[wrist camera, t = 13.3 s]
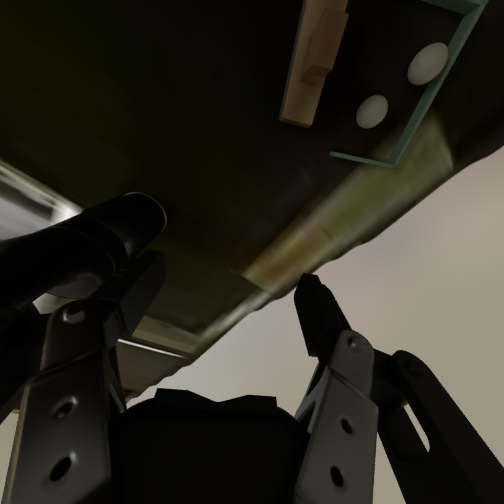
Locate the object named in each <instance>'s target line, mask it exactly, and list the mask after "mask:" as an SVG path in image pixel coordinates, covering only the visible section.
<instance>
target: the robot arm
mask: <svg viewBox="0 0 504 504" xmlns="http://www.w3.org/2000/svg"><path fill="white" fill-rule="evenodd" d="M166 225H167V214H166V211H165V209H164V207H163V206H162V204H161V203H160V202H159V201H158V200H157V199H155V198H154V197H153V196H151V195H149V194H147V193H144V192H131V193H128V194H126V195H124V196H118V197H116V198H113V199H111V200H108V201H106V202H103V203H101V204H98V205H96V206H93V207H91V208H88V209H86V210H83V211H82V212H81V214H79V215H76V216H74V217H71V218H69V219H67V220H64V221H62V222H60V223H57V224H55V225H52V226H50V227H48V228H45V229H42V230H40V231H37V232H35V233H32V234H28V235H24V236H20V237H16V238H12V239H8V240H4V241H0V425H1V423H2V422H3V421H4V420H5V418H6V417H7V416H8V415H9V414H10V413H11V411H12V410H13V409H14V408H15V407H16V405H17V404H18V403H19V402H20V401H21V399H22V402H21V407H20V412H19V417H18V422H17V427H16V432H15V437H14V442H13V447H12V452H11V457H10V462H9V467H8V472H7V477H6V482H5V487H4V492H3V497H2V502H1V504H372V502H373V486H374V470H375V455H376V439H377V432H378V434H379V437H380V439H381V442H382V444H383V447H384V449H385V452H386V454H387V457H388V459H389V462H390V464H391V467H392V469H393V472H394V474H395V477H396V479H397V482H398V484H399V487H400V489H401V492H402V494H403V497H404V500H405V502H406V504H504V467H503V466H502V465H501V463H500V462H499V461H498V459H497V458H496V457H495V456H494V454H493V453H492V451H491V450H490V449H489V447H488V446H487V445H486V443H485V442H484V441H483V439H482V438H481V437H480V436H479V434H478V433H477V431H476V430H475V429H474V427H473V426H472V425H471V423H470V422H469V421H468V419H467V418H466V417H465V415H464V414H463V413H462V411H461V410H460V409H459V407H458V406H457V405H456V403H455V402H454V401H453V399H452V398H451V397H450V395H449V394H448V393H447V391H446V390H445V388H443V386H442V384H441V383H440V382H439V381H438V379H437V378H436V376H435V375H434V374H433V373H432V371H431V370H430V369H429V367H428V366H427V365H426V364H425V363H424V362H423V361H422V360H420V359H419V358H417V357H416V356H415V355H413V354H411V353H409V352H407V351H403V350H398V351H396V352H395V353H394V354H393V355H392V356H391V355H388V354H386V353H384V352H381V351H379V350H376V349H374V348H373V347H372V345H371V344H370V343H369V341H368V340H367V339H366V338H365V337H364V336H362V335H361V334H359V333H358V332H356V331H354V330H352V329H351V327H350V325H349V323H348V321H347V320H346V318H345V316H344V314H343V312H342V310H341V309H340V307H339V306H338V303H337V301H336V300H335V297H334V296H333V294H332V292H331V291H330V290H329V289H328V288H327V287H326V286H325V285H323V284H322V283H321V282H320V280H319V277H318V276H317V275H313V274H307V273H304V274H302V276H301V279H300V281H299V283H298V286H297V288H296V291H295V294H294V303H295V306H296V310H297V314H298V318H299V321H300V325H301V329H302V332H303V336H304V339H305V343H306V347H307V351H308V355H309V356H312V357H318V360H319V363H318V364H317V366H316V369H315V371H314V374H313V376H312V379H311V381H310V384H309V386H308V389H307V391H306V394H305V396H304V398H303V401H302V403H301V404H300V406H299V408H298V410H297V412H296V414H295V416H294V417H293V416H292V415H290V414H289V413H288V412H286V411H285V410H283V409H282V408H280V407H277V401H276V397H272V396H259V395H245V396H242V397H238V398H234V399H230V400H226V401H222V402H215V401H212V400H210V399H208V398H205V397H203V396H200V395H198V394H196V393H193V392H191V391H189V390H177V389H164V388H157V391H156V393H155V396H154V398H151V399H147V400H145V401H142V402H140V403H138V404H136V405H133V406H131V407H130V408H128V409H127V406H126V401H125V397H124V393H123V389H122V384H121V378H120V371H119V364H118V357H117V350H116V345H115V344H116V342H117V341H118V339H119V338H120V337H129V338H130V337H131V336H132V334H133V332H134V331H135V329H136V327H137V326H138V324H139V323H140V321H141V319H142V318H143V316H144V315H145V313H146V311H147V310H148V308H149V307H150V305H151V303H152V302H153V300H154V299H155V297H156V295H157V294H158V292H159V291H160V289H161V287H162V286H163V284H164V281H165V277H166V271H165V260H164V253H163V252H160V251H153V250H146V251H145V252H144V253H143V254H142V255H141V256H140V257H139V258H136V256H137V255H138V254H139V253H140V252H141V251H142V250H143V249H144V248H145V247H146V246H147V245H148V244H149V243H150V242H152V241H154V240H155V239H154V238H155V237H156V236H157V235H158V234H159V233H161V232H162V231H163V230H164V229H165V227H166ZM44 293H48V294H51V295H54V296H58V297H62V298H69V299H80V300H76V301H72V302H70V303H67V304H65V305H63V306H61V307H60V308H58V309H57V310H55V311H54V312H53V313H48V314H40V313H39V311H38V310H37V308H36V307H35V305H34V304H33V301H34V300H36V299H37V298H38V297H40V296H41V295H43V294H44ZM83 298H87V299H83ZM407 404H409V405H410V407H411V409H412V411H413V413H414V414H415V416H416V418H417V420H418V421H419V423H420V425H421V427H422V429H423V430H424V432H425V434H426V436H427V438H428V441H429V445H430V449H429V452H428V451H427V450H426V448H425V446H424V444H423V442H422V440H421V438H420V437H419V435H418V433H417V431H416V429H415V427H414V425H413V424H412V422H411V420H410V418H409V416H408V414H407V412H406V410H405V409H404V406H405V405H407Z"/></svg>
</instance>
